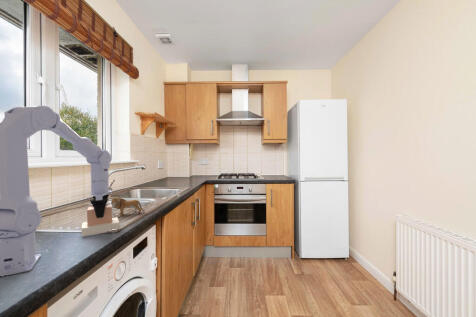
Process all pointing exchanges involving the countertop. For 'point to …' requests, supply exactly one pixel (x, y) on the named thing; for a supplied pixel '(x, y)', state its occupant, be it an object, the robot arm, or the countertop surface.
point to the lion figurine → (125, 204)
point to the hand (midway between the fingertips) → (100, 215)
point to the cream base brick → (99, 227)
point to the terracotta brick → (94, 220)
